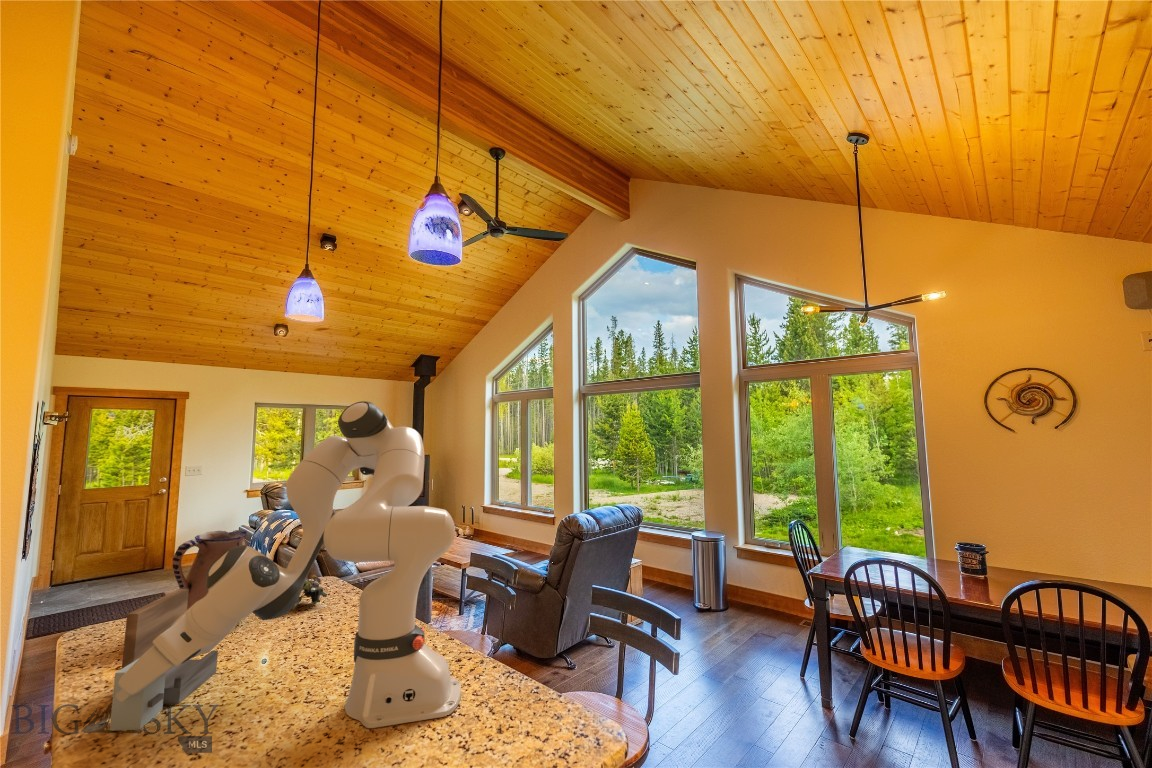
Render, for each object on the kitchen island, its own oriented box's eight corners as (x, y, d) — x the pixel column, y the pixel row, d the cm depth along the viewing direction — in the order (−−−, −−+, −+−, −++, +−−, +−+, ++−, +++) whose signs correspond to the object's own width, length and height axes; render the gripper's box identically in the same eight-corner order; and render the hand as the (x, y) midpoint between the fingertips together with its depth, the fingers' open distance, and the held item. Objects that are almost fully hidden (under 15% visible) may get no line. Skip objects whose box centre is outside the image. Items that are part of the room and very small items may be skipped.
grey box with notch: (166, 710, 98) (171, 657, 99) (144, 728, 92) (150, 671, 93) (133, 712, 97) (139, 658, 98) (109, 730, 91) (115, 673, 92)
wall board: (219, 669, 115) (226, 587, 117) (174, 707, 99) (182, 612, 101) (171, 671, 114) (179, 588, 115) (117, 710, 98) (127, 614, 99)
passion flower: (312, 621, 158) (337, 589, 160) (286, 627, 148) (312, 593, 149) (292, 596, 162) (316, 565, 164) (265, 600, 152) (291, 567, 153)
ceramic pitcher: (267, 616, 147) (274, 529, 150) (202, 646, 127) (211, 544, 129) (216, 611, 150) (223, 526, 153) (144, 640, 130) (154, 540, 132)
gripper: (219, 599, 108) (165, 648, 106) (152, 639, 88) (83, 700, 86) (240, 620, 108) (186, 670, 106) (177, 664, 88) (110, 727, 86)
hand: (140, 684), depth 96 cm, fingers open, 8 cm apart
